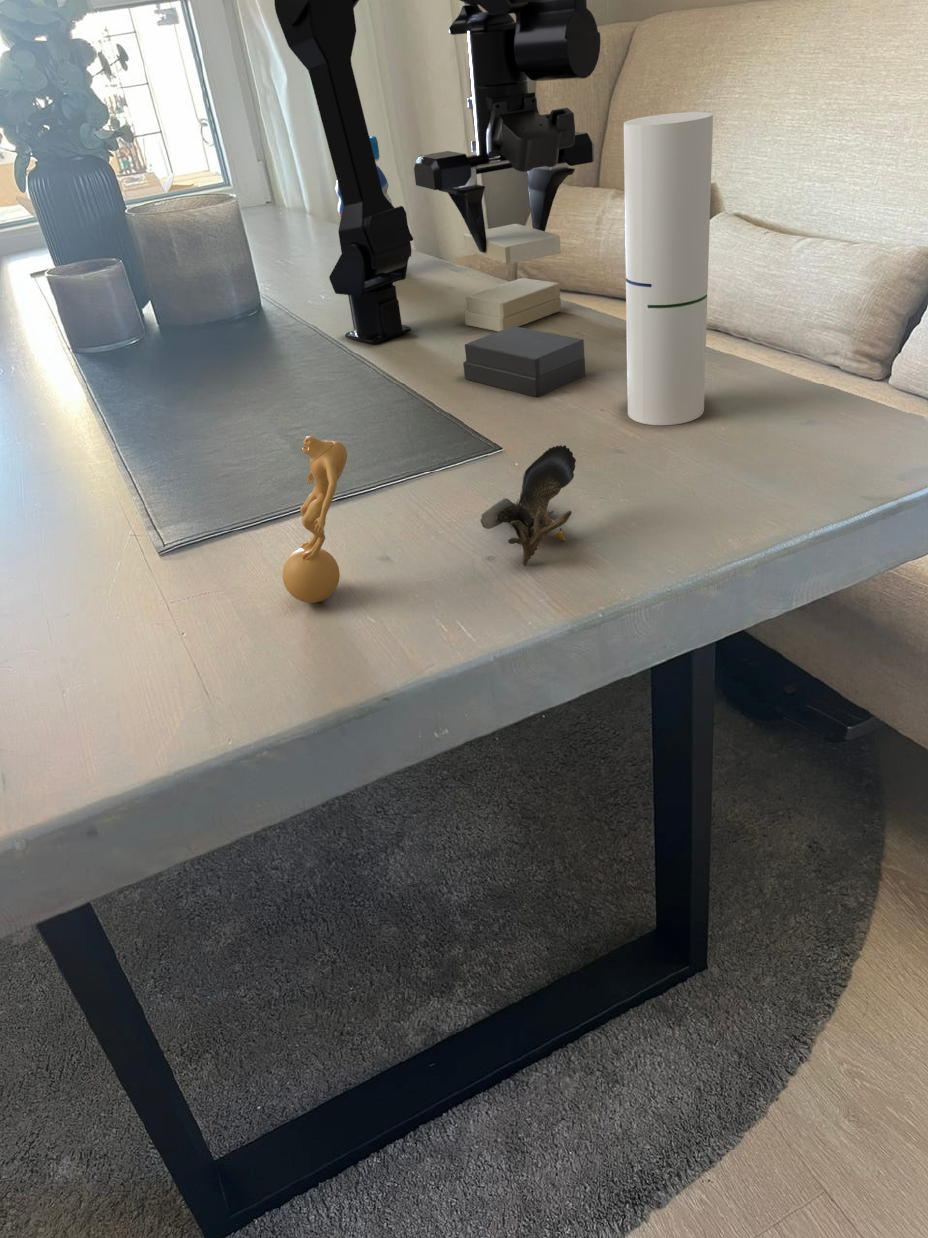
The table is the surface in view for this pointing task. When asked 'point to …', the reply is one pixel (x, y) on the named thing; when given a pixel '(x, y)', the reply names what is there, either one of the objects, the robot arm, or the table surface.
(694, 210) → the cylindrical container
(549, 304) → the white books
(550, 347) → the grey books
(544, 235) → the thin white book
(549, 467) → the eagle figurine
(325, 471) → the figurine
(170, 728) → the table surface
